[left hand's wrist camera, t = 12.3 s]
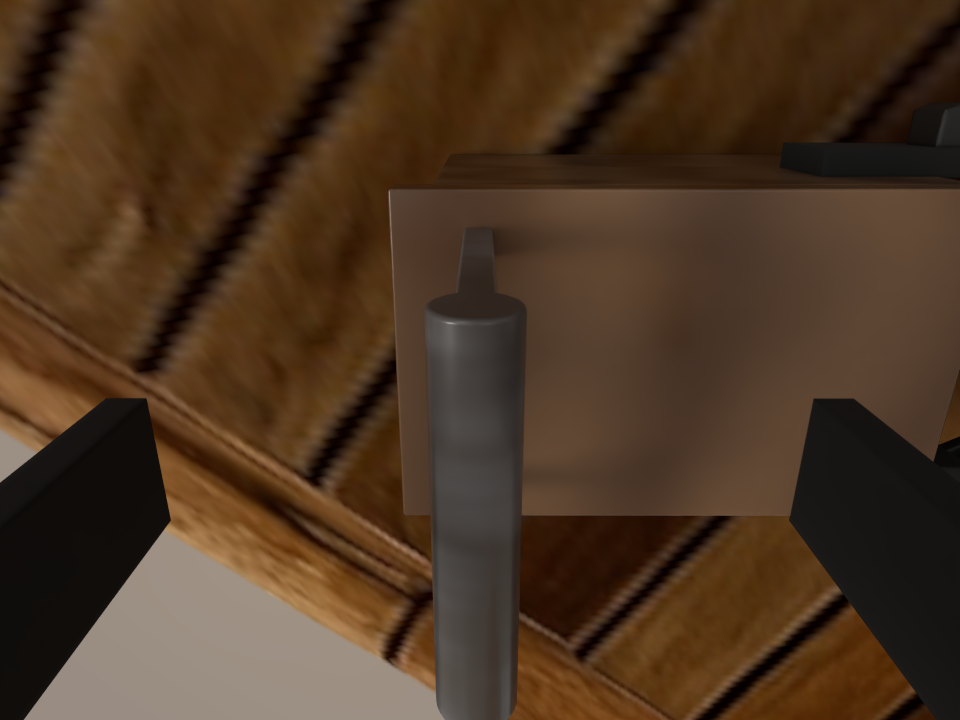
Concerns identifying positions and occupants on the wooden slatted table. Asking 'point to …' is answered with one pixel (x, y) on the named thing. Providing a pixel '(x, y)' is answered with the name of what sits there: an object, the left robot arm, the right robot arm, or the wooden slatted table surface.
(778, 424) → the lid
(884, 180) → the chest
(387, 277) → the wooden slatted table surface
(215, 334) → the wooden slatted table surface
